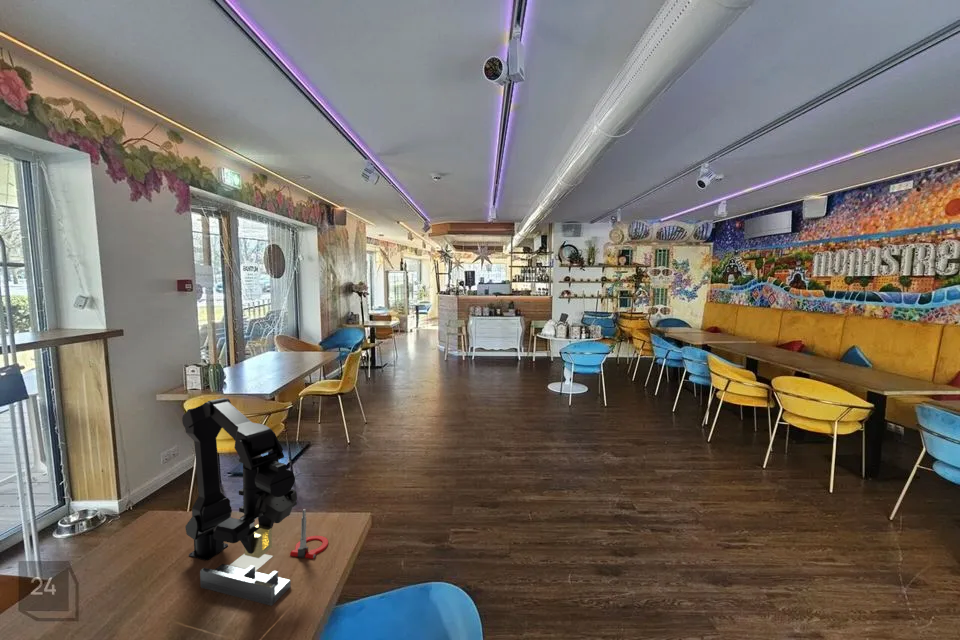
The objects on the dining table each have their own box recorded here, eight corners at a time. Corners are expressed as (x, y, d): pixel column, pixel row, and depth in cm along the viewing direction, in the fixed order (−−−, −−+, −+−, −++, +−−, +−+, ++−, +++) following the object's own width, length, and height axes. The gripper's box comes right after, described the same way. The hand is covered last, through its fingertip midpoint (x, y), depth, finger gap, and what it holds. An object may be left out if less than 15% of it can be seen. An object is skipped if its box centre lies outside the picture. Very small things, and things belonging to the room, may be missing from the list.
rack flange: (200, 588, 94) (200, 570, 94) (222, 571, 100) (222, 554, 100) (271, 606, 89) (271, 587, 89) (290, 587, 95) (290, 569, 95)
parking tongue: (229, 566, 102) (229, 564, 102) (248, 551, 108) (248, 550, 108) (255, 572, 100) (255, 571, 100) (273, 557, 106) (273, 555, 106)
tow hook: (306, 537, 115) (286, 557, 106) (307, 493, 115) (287, 509, 106) (333, 541, 114) (315, 561, 105) (335, 496, 114) (317, 512, 104)
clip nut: (244, 554, 93) (244, 534, 92) (258, 544, 97) (257, 524, 96) (258, 558, 92) (258, 537, 91) (272, 547, 96) (271, 527, 95)
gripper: (254, 510, 82) (255, 582, 83) (313, 470, 100) (313, 530, 101) (210, 501, 85) (212, 571, 86) (275, 464, 103) (276, 523, 104)
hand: (258, 547), depth 94 cm, fingers closed on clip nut, 4 cm apart
